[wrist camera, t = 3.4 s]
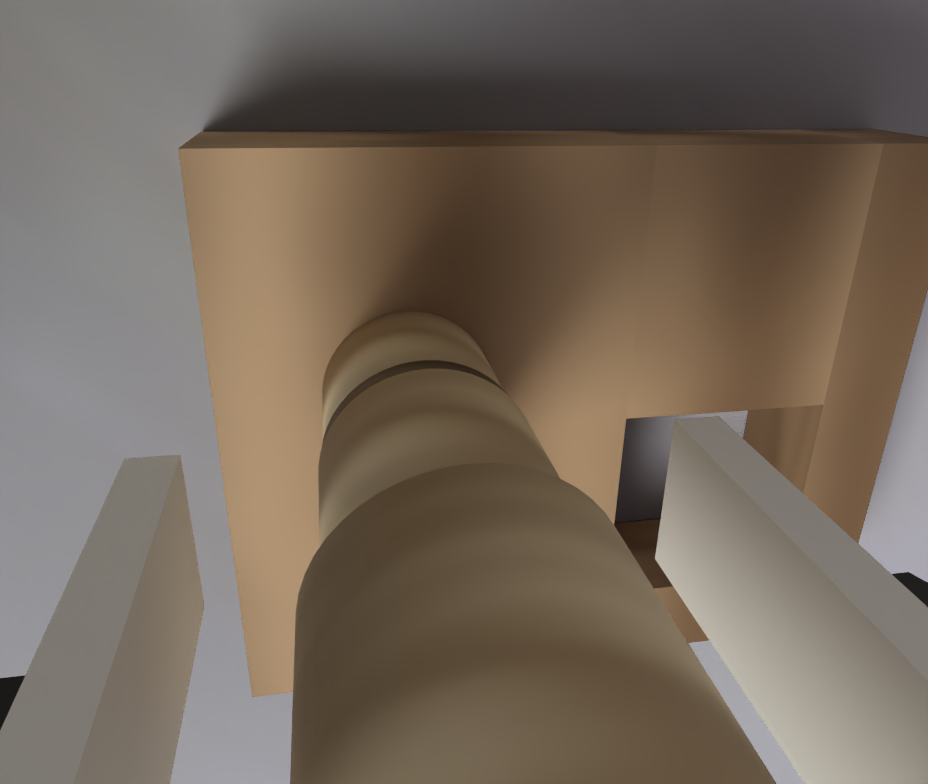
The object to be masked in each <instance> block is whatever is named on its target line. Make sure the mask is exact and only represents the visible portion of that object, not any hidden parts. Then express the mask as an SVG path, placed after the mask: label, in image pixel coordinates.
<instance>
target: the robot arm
mask: <svg viewBox="0 0 928 784" xmlns="http://www.w3.org/2000/svg"><path fill="white" fill-rule="evenodd" d="M655 560H656V561H657V563H658V564H659V566H660V567H661V569H662V570H663V572H664V573H665V575H666V576H667V578H668V579H669V581H670V582H671V584H672V585H673V587H674V588H675V590H676V591H677V593H678V594H679V596H680V597H681V599H682V600H683V602H684V603H685V605H686V606H687V608H688V609H689V611H690V612H691V614H692V615H693V617H694V618H695V620H696V621H697V623H698V624H699V626H700V627H701V629H702V630H703V632H704V633H705V635H706V636H707V638H708V639H709V641H710V642H711V644H712V645H713V647H714V648H715V650H716V651H717V653H718V654H719V656H720V657H721V659H722V660H723V662H724V663H725V665H726V666H727V668H728V669H729V671H730V672H731V674H732V675H733V677H734V678H735V680H736V681H737V683H738V684H739V686H740V687H741V689H742V690H743V692H744V693H745V695H746V696H747V698H748V699H749V701H750V702H751V704H752V705H753V707H754V708H755V710H756V711H757V713H758V714H759V716H760V717H761V719H762V720H763V722H764V723H765V725H766V726H767V728H768V729H769V731H770V732H771V734H772V735H773V737H774V738H775V740H776V741H777V743H778V744H779V746H780V747H781V749H782V750H783V752H784V753H785V755H786V756H787V758H788V759H789V761H790V762H791V764H792V765H793V767H794V768H795V770H796V771H797V773H798V774H799V775H800V777H801V778H802V780H803V781H804V783H805V784H928V583H927V582H925V581H924V580H922V579H920V578H918V577H916V576H914V575H913V574H911V573H909V572H906V573H897V574H891V573H890V572H889V571H887V570H886V569H885V568H884V567H883V566H882V565H881V564H880V563H879V562H878V561H877V560H875V559H874V558H873V557H872V556H871V555H870V554H869V553H868V552H867V551H866V550H864V549H863V548H862V547H861V546H860V545H859V544H858V543H857V542H856V541H855V540H853V539H852V538H851V537H850V536H849V535H848V534H847V533H846V532H845V531H844V530H843V529H841V528H840V527H839V526H838V525H837V524H836V523H835V522H834V521H833V520H832V519H830V518H829V517H828V516H827V515H826V514H825V513H824V512H823V511H822V510H821V509H820V508H818V507H817V506H816V505H815V504H814V503H813V502H812V501H811V500H810V499H809V498H807V497H806V496H805V495H804V494H803V493H802V492H801V491H800V490H799V489H798V488H796V487H795V486H794V485H793V484H792V483H791V482H790V481H789V480H788V479H787V478H786V477H784V476H783V475H782V474H781V473H780V472H779V471H778V470H777V469H776V468H775V467H773V466H772V465H771V464H770V463H769V462H768V461H767V460H766V459H765V458H764V457H763V456H761V455H760V454H759V453H758V452H757V451H756V450H755V449H754V448H753V447H752V446H750V445H749V444H748V443H747V442H746V441H745V440H744V439H743V438H742V437H741V436H739V435H738V434H737V433H736V432H735V431H734V430H733V429H732V428H731V427H730V426H729V425H727V424H726V423H725V422H724V421H723V420H722V419H721V418H720V417H719V416H716V417H702V418H688V419H675V421H674V428H673V435H672V442H671V449H670V456H669V463H668V470H667V477H666V484H665V491H664V498H663V505H662V512H661V520H660V527H659V534H658V541H657V548H656V555H655ZM203 610H204V601H203V594H202V588H201V582H200V575H199V569H198V563H197V557H196V550H195V544H194V538H193V532H192V525H191V519H190V513H189V507H188V500H187V494H186V488H185V481H184V475H183V469H182V463H181V456H180V455H171V456H157V457H143V458H129V459H124V461H123V463H122V465H121V468H120V470H119V472H118V474H117V476H116V479H115V481H114V483H113V485H112V487H111V489H110V492H109V494H108V496H107V498H106V500H105V503H104V505H103V507H102V509H101V511H100V514H99V516H98V518H97V520H96V522H95V524H94V527H93V529H92V531H91V533H90V535H89V538H88V540H87V542H86V544H85V546H84V549H83V551H82V553H81V555H80V557H79V559H78V562H77V564H76V566H75V568H74V570H73V573H72V575H71V577H70V579H69V581H68V583H67V586H66V588H65V590H64V592H63V594H62V597H61V599H60V601H59V603H58V605H57V608H56V610H55V612H54V614H53V616H52V618H51V621H50V623H49V625H48V627H47V629H46V632H45V634H44V636H43V638H42V640H41V642H40V645H39V647H38V649H37V651H36V653H35V656H34V658H33V660H32V662H31V664H30V667H29V669H28V671H27V673H26V675H25V676H17V677H8V678H0V784H170V779H171V774H172V769H173V764H174V759H175V753H176V748H177V743H178V738H179V733H180V728H181V723H182V717H183V712H184V707H185V702H186V697H187V692H188V687H189V682H190V676H191V671H192V666H193V661H194V656H195V651H196V646H197V640H198V635H199V630H200V625H201V620H202V615H203Z"/></svg>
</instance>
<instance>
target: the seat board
mask: <svg viewBox="0 0 928 784" xmlns="http://www.w3.org/2000/svg"><path fill="white" fill-rule="evenodd" d="M178 151H179V158H180V165H181V173H182V180H183V188H184V195H185V202H186V210H187V217H188V224H189V232H190V239H191V247H192V254H193V261H194V269H195V276H196V284H197V291H198V298H199V306H200V313H201V321H202V328H203V335H204V343H205V350H206V358H207V365H208V372H209V380H210V387H211V395H212V402H213V409H214V417H215V424H216V432H217V439H218V446H219V454H220V461H221V469H222V476H223V483H224V491H225V498H226V505H227V513H228V520H229V528H230V535H231V542H232V550H233V557H234V565H235V572H236V579H237V587H238V594H239V602H240V609H241V616H242V624H243V631H244V639H245V646H246V653H247V661H248V668H249V676H250V683H251V690H252V697H256V696H264V695H272V694H280V693H289V692H293V679H294V647H295V615H296V606H297V600H298V593H299V590H300V587H301V584H302V581H303V578H304V574H305V572H306V570H307V568H308V566H309V564H310V562H311V560H312V558H313V556H314V555H315V553H316V552H317V550H318V549H319V490H318V465H319V458H320V452H321V449H322V443H323V406H322V386H323V379H324V375H325V372H326V368H327V366H328V363H329V361H330V359H331V357H332V355H333V354H334V352H335V351H336V349H337V348H338V346H339V345H340V344H341V343H342V342H343V340H344V339H345V338H346V337H348V336H349V335H350V334H351V333H352V332H353V331H354V330H356V329H357V328H359V327H360V326H362V325H363V324H365V323H367V322H369V321H371V320H373V319H376V318H378V317H381V316H384V315H388V314H392V313H398V312H423V313H430V314H433V315H437V316H440V317H443V318H445V319H447V320H450V321H451V322H453V323H455V324H456V325H458V326H460V327H461V328H462V329H463V330H465V331H466V332H467V333H468V334H469V335H470V336H471V337H472V338H473V339H474V340H475V341H476V343H477V344H478V346H479V347H480V348H481V350H482V352H483V354H484V356H485V357H486V359H487V361H488V363H489V365H490V366H491V368H492V370H493V372H494V374H495V375H496V377H497V379H498V381H499V383H500V384H501V386H502V388H503V390H504V391H505V392H506V393H507V394H508V395H509V397H510V398H511V399H512V400H513V401H514V402H515V403H516V404H517V405H518V407H519V408H520V410H521V411H522V413H523V414H524V416H525V417H526V419H527V421H528V423H529V424H530V426H531V428H532V430H533V431H534V433H535V435H536V437H537V438H538V440H539V442H540V444H541V445H542V447H543V449H544V451H545V452H546V454H547V456H548V458H549V459H550V461H551V463H552V465H553V466H554V468H555V470H556V472H557V473H558V475H559V477H560V479H562V480H564V481H566V482H567V483H569V484H571V485H573V486H575V487H577V488H578V489H579V490H581V491H582V492H583V493H585V494H586V495H587V496H589V497H590V498H591V499H592V500H593V501H594V502H595V503H596V504H597V505H598V506H599V507H600V508H601V509H602V510H603V511H604V512H605V513H606V515H607V516H608V517H609V519H610V520H611V522H612V523H613V525H614V526H615V528H616V529H617V531H618V532H619V534H620V536H621V537H622V539H623V540H624V542H625V544H626V545H627V547H628V548H629V550H630V551H631V553H632V555H633V556H634V558H635V559H636V561H637V563H638V564H639V566H640V567H641V569H642V571H643V572H644V574H645V575H646V577H647V579H648V580H649V582H650V583H651V585H652V587H653V588H654V590H655V591H656V593H657V594H658V596H659V598H660V599H661V601H662V602H663V604H664V606H665V607H666V609H667V610H668V612H669V614H670V615H671V617H672V618H673V620H674V622H675V623H676V625H677V626H678V628H679V629H680V631H681V633H682V634H683V636H684V637H685V639H686V641H687V642H688V643H691V642H699V641H707V640H709V639H708V638H707V636H706V635H705V633H704V632H703V630H702V629H701V627H700V626H699V624H698V623H697V621H696V620H695V618H694V617H693V615H692V614H691V612H690V611H689V609H688V608H687V606H686V605H685V603H684V602H683V600H682V599H681V597H680V596H679V594H678V593H677V591H676V590H675V588H674V587H673V585H672V584H671V582H670V581H669V579H668V578H667V576H666V575H665V573H664V572H663V570H662V569H661V567H660V566H659V564H658V563H657V561H656V560H655V555H656V548H657V541H658V534H659V527H660V520H661V519H655V520H644V521H634V522H623V523H614V522H615V513H616V504H617V496H618V487H619V478H620V469H621V460H622V451H623V442H624V434H625V425H626V419H630V418H644V417H658V416H672V415H687V414H701V413H715V412H729V411H743V410H748V416H747V421H746V427H745V432H744V437H743V439H744V440H745V441H746V442H747V443H748V444H749V445H750V446H752V447H753V448H754V449H755V450H756V451H757V452H758V453H759V454H760V455H761V456H763V457H764V458H765V459H766V460H767V461H768V462H769V463H770V464H771V465H772V466H773V467H775V468H776V469H777V470H778V471H779V472H780V473H781V474H782V475H783V476H784V477H786V478H787V479H788V480H789V481H790V482H791V483H792V484H793V485H794V486H795V487H796V488H798V489H799V490H800V491H801V492H802V493H803V494H804V495H805V496H806V497H807V498H809V499H810V500H811V501H812V502H813V503H814V504H815V505H816V506H817V507H818V508H820V509H821V510H822V511H823V512H824V513H825V514H826V515H827V516H828V517H829V518H830V519H832V520H833V521H834V522H835V523H836V524H837V525H838V526H839V527H840V528H841V529H843V530H844V531H845V532H846V533H847V534H848V535H849V536H850V537H851V538H852V539H853V540H855V541H856V542H857V543H858V542H859V539H860V535H861V531H862V528H863V524H864V520H865V517H866V513H867V509H868V506H869V502H870V498H871V495H872V491H873V487H874V484H875V480H876V476H877V473H878V469H879V465H880V462H881V458H882V454H883V451H884V447H885V443H886V440H887V436H888V432H889V429H890V425H891V421H892V418H893V414H894V411H895V407H896V403H897V400H898V396H899V392H900V389H901V385H902V381H903V378H904V374H905V370H906V367H907V363H908V359H909V356H910V352H911V348H912V345H913V341H914V337H915V334H916V330H917V326H918V323H919V319H920V315H921V312H922V308H923V304H924V301H925V297H926V293H927V290H928V137H923V136H916V135H909V134H902V133H896V132H889V131H882V130H875V129H825V130H541V131H257V132H200V133H198V134H197V135H196V136H194V137H193V138H192V139H190V140H189V141H188V142H186V143H185V144H184V145H182V146H181V147H180V148H179V149H178Z"/></svg>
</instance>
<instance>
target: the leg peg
mask: <svg viewBox="0 0 928 784" xmlns="http://www.w3.org/2000/svg"><path fill="white" fill-rule="evenodd" d="M322 406H323V443H322V449H321V452H320V458H319V465H318V490H319V549H318V550H317V552H316V553H315V555H314V556H313V558H312V560H311V562H310V564H309V566H308V568H307V570H306V572H305V574H304V578H303V581H302V584H301V587H300V590H299V593H298V600H297V606H296V615H295V647H294V679H293V711H292V743H291V774H290V784H776V782H775V781H774V779H773V778H772V776H771V774H770V773H769V771H768V770H767V768H766V766H765V765H764V763H763V762H762V760H761V758H760V757H759V755H758V754H757V752H756V750H755V749H754V747H753V746H752V744H751V742H750V741H749V739H748V738H747V736H746V735H745V733H744V731H743V730H742V728H741V727H740V725H739V723H738V722H737V720H736V719H735V717H734V715H733V714H732V712H731V711H730V709H729V707H728V706H727V704H726V703H725V701H724V700H723V698H722V696H721V695H720V693H719V692H718V690H717V688H716V687H715V685H714V684H713V682H712V680H711V679H710V677H709V676H708V674H707V672H706V671H705V669H704V668H703V666H702V664H701V663H700V661H699V660H698V658H697V657H696V655H695V653H694V652H693V650H692V649H691V647H690V645H689V644H688V642H687V641H686V639H685V637H684V636H683V634H682V633H681V631H680V629H679V628H678V626H677V625H676V623H675V622H674V620H673V618H672V617H671V615H670V614H669V612H668V610H667V609H666V607H665V606H664V604H663V602H662V601H661V599H660V598H659V596H658V594H657V593H656V591H655V590H654V588H653V587H652V585H651V583H650V582H649V580H648V579H647V577H646V575H645V574H644V572H643V571H642V569H641V567H640V566H639V564H638V563H637V561H636V559H635V558H634V556H633V555H632V553H631V551H630V550H629V548H628V547H627V545H626V544H625V542H624V540H623V539H622V537H621V536H620V534H619V532H618V531H617V529H616V528H615V526H614V525H613V523H612V522H611V520H610V519H609V517H608V516H607V515H606V513H605V512H604V511H603V510H602V509H601V508H600V507H599V506H598V505H597V504H596V503H595V502H594V501H593V500H592V499H591V498H590V497H589V496H587V495H586V494H585V493H583V492H582V491H581V490H579V489H578V488H577V487H575V486H573V485H571V484H569V483H567V482H566V481H564V480H562V479H560V477H559V475H558V473H557V472H556V470H555V468H554V466H553V465H552V463H551V461H550V459H549V458H548V456H547V454H546V452H545V451H544V449H543V447H542V445H541V444H540V442H539V440H538V438H537V437H536V435H535V433H534V431H533V430H532V428H531V426H530V424H529V423H528V421H527V419H526V417H525V416H524V414H523V413H522V411H521V410H520V408H519V407H518V405H517V404H516V403H515V402H514V401H513V400H512V399H511V398H510V397H509V395H508V394H507V393H506V392H505V391H504V390H503V388H502V386H501V384H500V383H499V381H498V379H497V377H496V375H495V374H494V372H493V370H492V368H491V366H490V365H489V363H488V361H487V359H486V357H485V356H484V354H483V352H482V350H481V348H480V347H479V346H478V344H477V343H476V341H475V340H474V339H473V338H472V337H471V336H470V335H469V334H468V333H467V332H466V331H465V330H463V329H462V328H461V327H460V326H458V325H456V324H455V323H453V322H451V321H450V320H447V319H445V318H443V317H440V316H437V315H433V314H430V313H423V312H398V313H392V314H388V315H384V316H381V317H378V318H376V319H373V320H371V321H369V322H367V323H365V324H363V325H362V326H360V327H359V328H357V329H356V330H354V331H353V332H352V333H351V334H350V335H349V336H348V337H346V338H345V339H344V340H343V342H342V343H341V344H340V345H339V346H338V348H337V349H336V351H335V352H334V354H333V355H332V357H331V359H330V361H329V363H328V366H327V368H326V372H325V375H324V379H323V386H322Z"/></svg>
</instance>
